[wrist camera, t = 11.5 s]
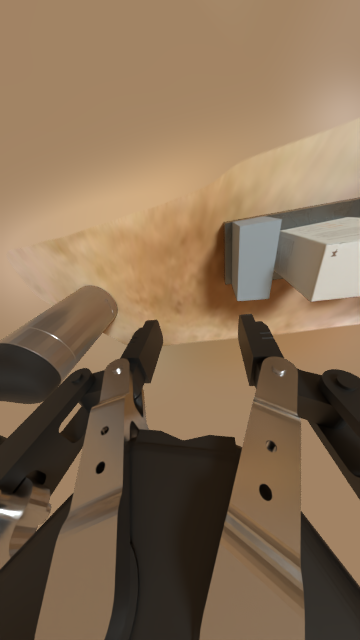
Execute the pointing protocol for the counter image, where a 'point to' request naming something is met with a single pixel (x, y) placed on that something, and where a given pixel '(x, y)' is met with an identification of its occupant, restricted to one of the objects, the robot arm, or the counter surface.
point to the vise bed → (294, 224)
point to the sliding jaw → (254, 256)
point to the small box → (321, 259)
